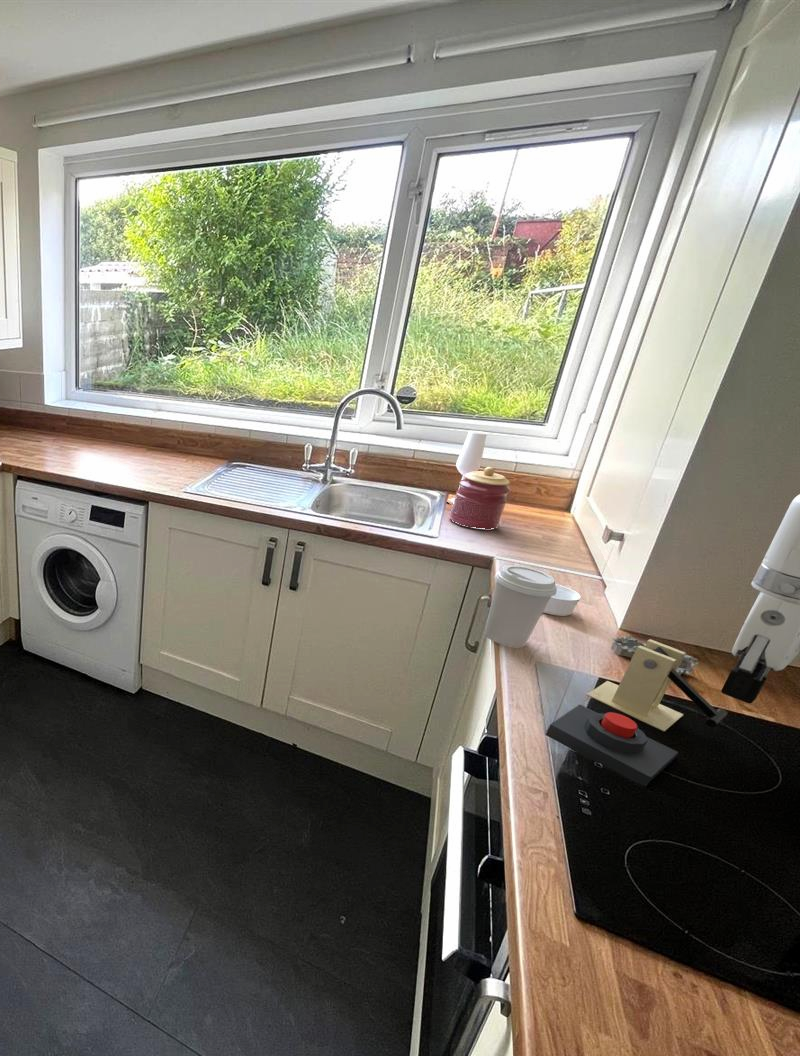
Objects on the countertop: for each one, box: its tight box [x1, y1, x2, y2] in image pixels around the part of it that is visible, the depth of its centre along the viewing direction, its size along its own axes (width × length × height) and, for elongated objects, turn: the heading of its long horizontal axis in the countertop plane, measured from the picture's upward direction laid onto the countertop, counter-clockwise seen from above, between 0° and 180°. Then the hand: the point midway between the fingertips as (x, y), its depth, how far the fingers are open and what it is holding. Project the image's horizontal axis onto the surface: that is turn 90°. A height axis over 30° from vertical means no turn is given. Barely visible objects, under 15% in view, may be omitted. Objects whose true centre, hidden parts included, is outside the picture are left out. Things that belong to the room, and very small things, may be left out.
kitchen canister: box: [449, 466, 511, 529], centre depth 173 cm, size 13×13×18 cm
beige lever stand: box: [586, 638, 687, 733], centre depth 93 cm, size 10×8×12 cm
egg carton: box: [610, 635, 700, 676], centre depth 107 cm, size 11×8×4 cm
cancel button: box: [601, 711, 638, 738], centre depth 85 cm, size 4×4×2 cm
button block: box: [545, 704, 679, 786], centre depth 86 cm, size 12×10×4 cm
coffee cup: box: [483, 564, 557, 649], centre depth 110 cm, size 10×10×15 cm
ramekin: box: [542, 583, 582, 617], centre depth 127 cm, size 9×9×4 cm
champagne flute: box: [449, 430, 488, 503], centre depth 189 cm, size 7×7×24 cm
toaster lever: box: [653, 647, 729, 728], centre depth 89 cm, size 12×5×2 cm
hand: (737, 696), depth 84 cm, fingers closed
